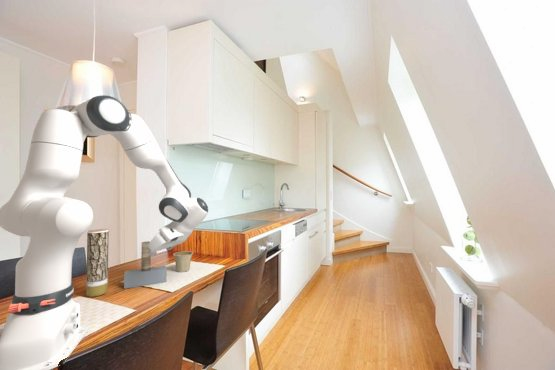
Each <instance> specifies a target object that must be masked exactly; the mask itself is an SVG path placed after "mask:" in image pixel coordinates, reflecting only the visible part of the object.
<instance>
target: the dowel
mask: <svg viewBox="0 0 555 370" xmlns="http://www.w3.org/2000/svg"><path fill="white" fill-rule="evenodd" d="M149 243H150V241H149V240H148V241H143V242H141V252H140V253H141V258H140V260H141V261H140V263H141V264H140V266H141V267H140V269H141V271H148V270H150V269H151V268H152V267H151V266H152V265H151V260H152V259H151V257H152V256H151V255H150V252H151V250H150V249H149V248H148V244H149Z"/></svg>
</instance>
